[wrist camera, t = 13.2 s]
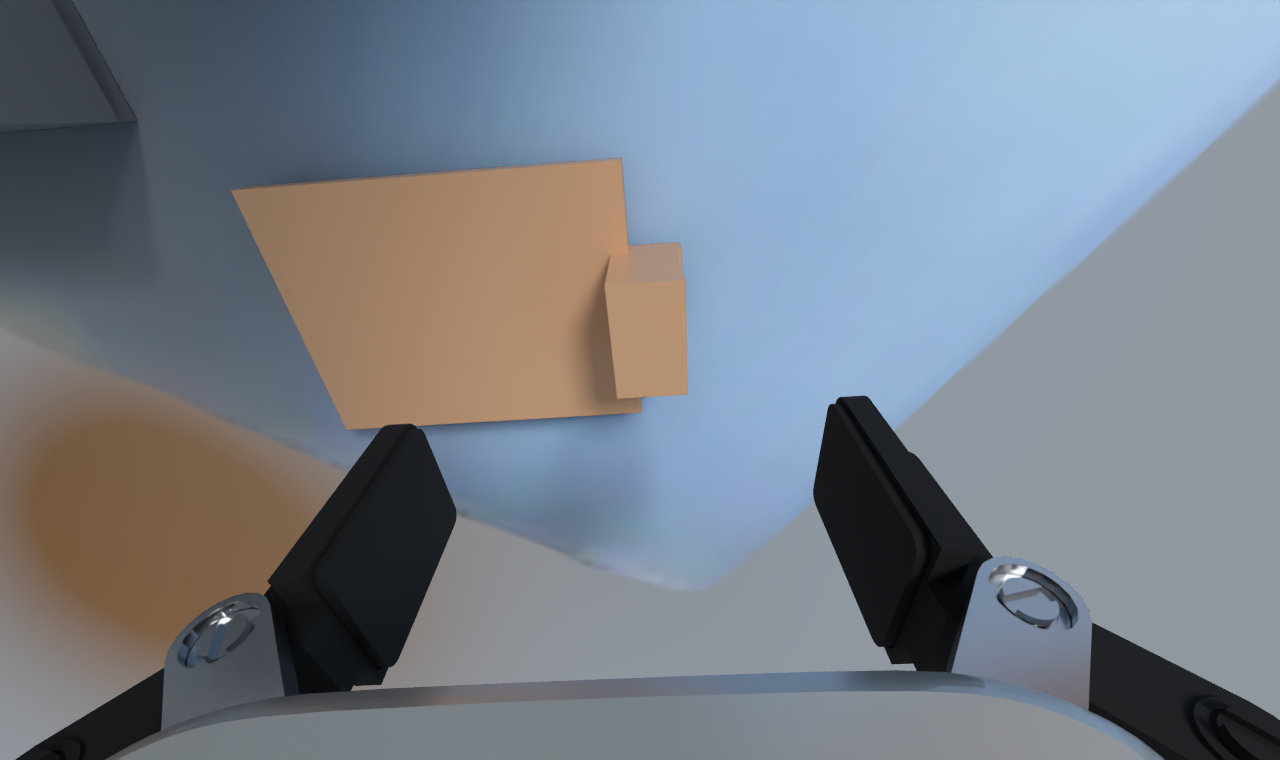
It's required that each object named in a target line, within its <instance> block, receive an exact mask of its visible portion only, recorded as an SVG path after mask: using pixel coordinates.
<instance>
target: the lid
mask: <svg viewBox="0 0 1280 760" xmlns="http://www.w3.org/2000/svg"><path fill="white" fill-rule="evenodd" d="M231 192H232V194H233V196H234V198H235V200H236V203H237V205H238V207H239V209H240V211H241V213H242V215H243V217H244V219H245V221H246V223H247V225H248V227H249V229H250V231H251V234H252V236H253V238H254V240H255V242H256V244H257V246H258V248H259V250H260V252H261V254H262V256H263V258H264V260H265V262H266V264H267V267H268V269H269V271H270V273H271V275H272V277H273V279H274V281H275V283H276V285H277V287H278V289H279V291H280V293H281V295H282V298H283V300H284V302H285V304H286V306H287V308H288V310H289V312H290V314H291V316H292V318H293V320H294V322H295V324H296V326H297V328H298V331H299V333H300V335H301V337H302V339H303V341H304V343H305V345H306V347H307V349H308V351H309V353H310V355H311V357H312V359H313V362H314V364H315V366H316V368H317V370H318V372H319V374H320V376H321V378H322V380H323V382H324V384H325V386H326V388H327V390H328V392H329V395H330V397H331V399H332V401H333V403H334V405H335V407H336V409H337V411H338V413H339V415H340V417H341V419H342V421H343V423H344V425H345V428H346V430H353V429H370V428H383V427H384V426H386V425H393V424H409V423H410V424H413V425H415V426H421V425H438V424H455V423H472V422H489V421H506V420H523V419H540V418H557V417H574V416H591V415H608V414H625V413H642V412H641V397H652V396H669V395H686V394H688V386H687V337H686V288H685V277H684V273H683V270H682V257H681V246H680V243H679V242H674V243H660V244H646V245H632V246H629V242H628V229H627V217H626V205H625V192H624V180H623V168H622V158H609V159H596V160H583V161H571V162H558V163H545V164H532V165H519V166H506V167H493V168H480V169H467V170H454V171H441V172H428V173H415V174H403V175H390V176H377V177H364V178H351V179H338V180H325V181H312V182H299V183H286V184H273V185H260V186H250V187H245V188H240V189H234V190H231Z"/></svg>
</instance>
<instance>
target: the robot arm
mask: <svg viewBox="0 0 1280 760" xmlns="http://www.w3.org/2000/svg"><path fill="white" fill-rule="evenodd" d="M813 495H814V501H815V504H816V507H817V509H818V511H819V514H820V516H821V518H822V521H823V523H824V526H825V528H826V530H827V533H828V535H829V537H830V540H831V542H832V544H833V547H834V549H835V551H836V554H837V556H838V559H839V561H840V563H841V566H842V568H843V570H844V573H845V575H846V578H847V580H848V582H849V585H850V587H851V589H852V592H853V594H854V596H855V599H856V601H857V604H858V606H859V608H860V611H861V613H862V615H863V618H864V620H865V622H866V625H867V627H868V629H869V632H870V634H871V636H872V639H873V641H874V642H875V644H876V645H877V646H878V647H884V648H885V650H886V652H887V654H888V657H889V659H890V661H891V664H910V663H913V664H914V666H915V668H916V670H917V671H897V670H895V671H841V672H840V671H837V672H836V671H835V672H795V673H794V672H793V673H766V674H764V673H763V674H736V675H705V676H679V677H651V678H626V679H600V680H577V681H552V682H527V683H503V684H481V685H459V686H436V687H414V688H393V689H376V690H361V691H351V689H352V687H353V685H355V686H362V685H381V684H382V682H383V679H384V677H385V674H386V672H387V670H388V668H389V667H392V666H393V665H395V663H396V662H397V660H398V659H399V656H400V654H401V652H402V649H403V647H404V645H405V642H406V640H407V637H408V635H409V632H410V630H411V628H412V625H413V623H414V621H415V618H416V616H417V613H418V611H419V609H420V606H421V604H422V601H423V599H424V597H425V594H426V592H427V589H428V587H429V585H430V582H431V580H432V577H433V575H434V573H435V570H436V568H437V566H438V563H439V561H440V558H441V556H442V553H443V551H444V549H445V546H446V544H447V541H448V539H449V537H450V534H451V532H452V530H453V527H454V525H455V522H456V508H455V505H454V503H453V501H452V498H451V496H450V493H449V491H448V489H447V486H446V484H445V481H444V479H443V477H442V474H441V472H440V469H439V467H438V465H437V462H436V460H435V457H434V455H433V453H432V450H431V448H430V445H429V443H428V441H427V438H426V436H425V434H424V432H423V431H422V430H421V429H417V428H416V426H415V425H413V424H410V423H409V424H393V425H386V426H384V427H383V428H382V429H381V430H380V431H379V433H378V434H377V435H376V437H375V438H374V439H373V441H372V442H371V443H370V445H369V446H368V447H367V449H366V450H365V451H364V453H363V454H362V455H361V457H360V458H359V459H358V461H357V462H356V463H355V465H354V466H353V467H352V469H351V470H350V471H349V473H348V474H347V475H346V477H345V478H344V479H343V481H342V482H341V483H340V485H339V486H338V488H337V489H336V490H335V492H334V493H333V494H332V496H331V497H330V498H329V500H328V501H327V502H326V504H325V505H324V506H323V508H322V509H321V510H320V512H319V513H318V514H317V516H316V517H315V518H314V520H313V521H312V522H311V524H310V525H309V526H308V528H307V529H306V530H305V532H304V533H303V534H302V536H301V537H300V538H299V540H298V541H297V542H296V544H295V545H294V547H293V548H292V549H291V551H290V552H289V553H288V555H287V556H286V557H285V558H284V560H283V561H282V562H281V564H280V565H279V566H278V568H277V569H276V571H275V572H274V573H273V575H272V576H271V577H270V579H269V580H268V582H269V584H270V585H271V586H270V588H269V589H268V590H267V592H266V593H265V595H264V596H263V595H261V594H259V593H245V594H240V595H236V596H232V597H230V598H228V599H226V600H223V601H221V602H219V603H217V604H215V605H214V606H212V607H210V608H209V609H207V610H206V611H204V612H203V613H201V614H200V615H199V616H198V617H196V618H195V619H194V620H193V621H191V622H190V623H189V624H188V625H187V626H186V627H185V628H184V629H183V631H182V632H181V633H180V634H179V635H178V636H177V637H176V639H175V640H174V642H173V643H172V645H171V647H170V648H169V650H168V653H167V656H166V660H165V668H163V669H162V670H160V671H158V672H157V673H155V674H153V675H152V676H150V677H148V678H147V679H145V680H143V681H142V682H140V683H138V684H137V685H135V686H133V687H132V688H130V689H128V690H127V691H125V692H124V693H122V694H120V695H119V696H117V697H115V698H114V699H112V700H110V701H109V702H107V703H105V704H104V705H102V706H101V707H99V708H97V709H95V710H94V711H92V712H91V713H89V714H87V715H86V716H84V717H82V718H81V719H79V720H77V721H76V722H74V723H72V724H71V725H69V726H67V727H66V728H64V729H62V730H61V731H59V732H57V733H56V734H54V735H53V736H51V737H49V738H48V739H46V740H44V741H43V742H41V743H39V744H38V745H36V746H35V747H33V748H32V749H30V750H29V751H27V752H26V753H24V754H23V755H21V756H20V757H19V758H17V759H16V760H1280V720H1278V719H1277V718H1276V717H1274V716H1273V715H1271V714H1270V713H1268V712H1266V711H1264V710H1263V709H1261V708H1259V707H1258V706H1256V705H1254V704H1252V703H1251V702H1249V701H1247V700H1245V699H1243V698H1241V697H1239V696H1237V695H1235V694H1233V693H1231V692H1229V691H1227V690H1225V689H1223V688H1221V687H1219V686H1217V685H1215V684H1213V683H1211V682H1209V681H1207V680H1205V679H1203V678H1201V677H1199V676H1197V675H1195V674H1193V673H1191V672H1189V671H1187V670H1185V669H1183V668H1181V667H1179V666H1178V665H1176V664H1173V663H1171V662H1170V661H1167V660H1166V659H1164V658H1161V657H1160V656H1158V655H1156V654H1154V653H1152V652H1150V651H1148V650H1146V649H1143V648H1142V647H1140V646H1137V645H1136V644H1134V643H1132V642H1130V641H1128V640H1126V639H1124V638H1122V637H1120V636H1118V635H1116V634H1114V633H1112V632H1110V631H1108V630H1106V629H1104V628H1102V627H1100V626H1098V625H1096V624H1094V623H1092V620H1091V615H1090V610H1089V609H1088V607H1087V605H1086V604H1085V602H1084V600H1083V599H1082V597H1081V596H1080V595H1079V594H1078V593H1077V592H1076V591H1075V590H1074V589H1073V588H1072V587H1071V585H1070V584H1069V583H1067V582H1066V581H1064V580H1063V579H1062V578H1060V577H1059V576H1058V575H1056V574H1055V573H1054V572H1052V571H1050V570H1048V569H1046V568H1044V567H1042V566H1040V565H1038V564H1036V563H1033V562H1029V561H1026V560H1023V559H1020V558H1013V557H1005V556H1004V557H996V558H993V557H992V555H991V554H990V553H989V551H988V550H987V549H986V547H985V546H984V545H983V543H982V542H981V541H980V539H979V538H978V537H977V535H976V534H975V533H974V532H973V530H972V529H971V527H970V526H969V525H968V523H967V522H966V521H965V519H964V518H963V517H962V515H961V514H960V513H959V511H958V510H957V509H956V507H955V506H954V505H953V503H952V502H951V501H950V499H949V498H948V497H947V495H946V494H945V493H944V491H943V490H942V489H941V487H940V486H939V485H938V483H937V482H936V481H935V479H934V478H933V477H932V475H931V474H930V473H929V471H928V470H927V469H926V467H925V466H924V465H923V463H922V462H921V461H920V459H919V458H918V457H917V456H916V455H915V454H913V453H911V452H908V450H907V449H906V448H905V446H904V445H903V444H902V442H901V441H900V439H899V438H898V437H897V435H896V434H895V433H894V431H893V430H892V429H891V427H890V426H889V425H888V423H887V422H886V420H885V419H884V418H883V416H882V415H881V414H880V412H879V411H878V410H877V408H876V407H875V406H874V404H873V403H872V401H871V400H870V399H869V398H868V397H867V396H851V397H840V398H838V399H837V401H836V404H831V405H829V407H828V411H827V417H826V422H825V428H824V433H823V439H822V444H821V450H820V455H819V461H818V466H817V472H816V477H815V483H814V489H813Z"/></svg>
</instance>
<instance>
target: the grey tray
mask: <svg viewBox="0 0 1280 760" xmlns="http://www.w3.org/2000/svg"><path fill="white" fill-rule="evenodd" d="M133 121H137V120H136V118H135V117H134V115H133V113H132V111H131V109H130V107H129V106H128V104H127V102H126V100H125V98H124V96H123V95H122V93H121V91H120V89H119V87H118V85H117V84H116V82H115V80H114V78H113V76H112V74H111V73H110V71H109V69H108V67H107V65H106V63H105V62H104V60H103V58H102V56H101V54H100V52H99V51H98V49H97V47H96V45H95V43H94V41H93V40H92V38H91V36H90V34H89V32H88V30H87V29H86V27H85V25H84V23H83V21H82V19H81V18H80V16H79V14H78V12H77V10H76V8H75V7H74V5H73V3H72V1H71V0H0V133H7V132H19V131H30V130H42V129H53V128H65V127H76V126H87V125H99V124H110V123H122V122H133Z"/></svg>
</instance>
